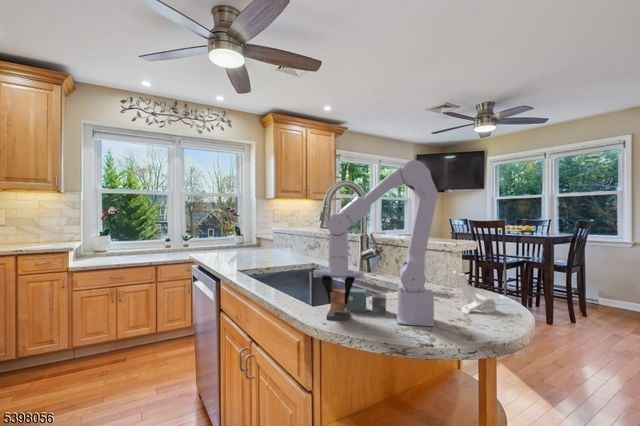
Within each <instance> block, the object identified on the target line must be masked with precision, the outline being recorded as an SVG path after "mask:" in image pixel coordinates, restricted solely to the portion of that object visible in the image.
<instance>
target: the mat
mask: <svg viewBox="0 0 640 426" xmlns="http://www.w3.org/2000/svg"><path fill="white" fill-rule="evenodd" d="M350 315H351V311H348V310H346V309H345V311H338V310H331V308H330V309H329V310H328V312H327V313H326V320H331V321H342V322H343V321H344V322H345V321H346V322H348V321H349V317H350Z"/></svg>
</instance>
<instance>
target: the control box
mask: <svg viewBox="0 0 640 426" xmlns="http://www.w3.org/2000/svg"><path fill="white" fill-rule="evenodd" d="M345 310H348V311H350V312H354V313H355V312H356V313H366V311H367V289H365V288H351V290H350V293H349V298H348V303H347V304H346V308H345Z"/></svg>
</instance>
